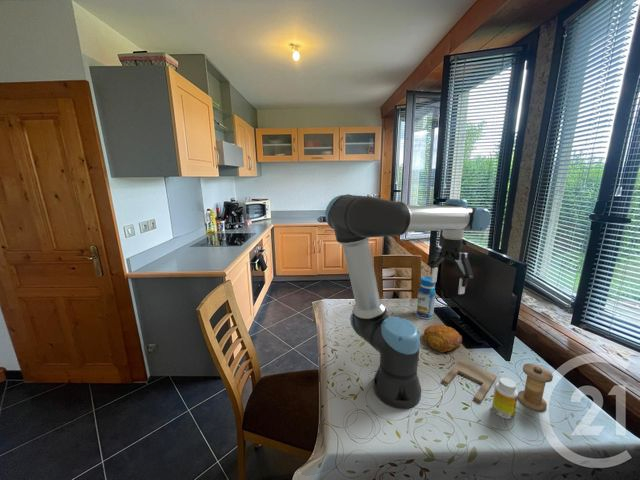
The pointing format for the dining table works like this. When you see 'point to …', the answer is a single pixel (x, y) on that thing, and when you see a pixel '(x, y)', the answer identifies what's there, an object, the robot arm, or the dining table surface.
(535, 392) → the bobbin
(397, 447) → the dining table surface
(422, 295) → the beverage bottle
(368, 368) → the dining table surface
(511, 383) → the supplement bottle
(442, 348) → the golden brown rounded loaf
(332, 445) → the dining table surface
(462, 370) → the notched board
